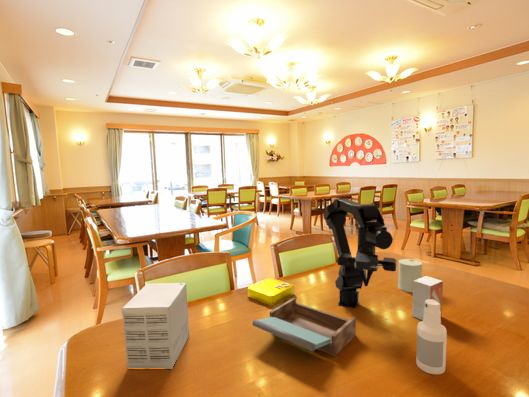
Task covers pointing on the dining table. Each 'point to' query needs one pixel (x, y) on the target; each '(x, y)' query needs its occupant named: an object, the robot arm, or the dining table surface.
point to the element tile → (271, 291)
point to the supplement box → (156, 325)
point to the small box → (426, 294)
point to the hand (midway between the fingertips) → (366, 285)
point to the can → (409, 273)
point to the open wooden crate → (318, 324)
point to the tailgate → (292, 333)
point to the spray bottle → (431, 340)
